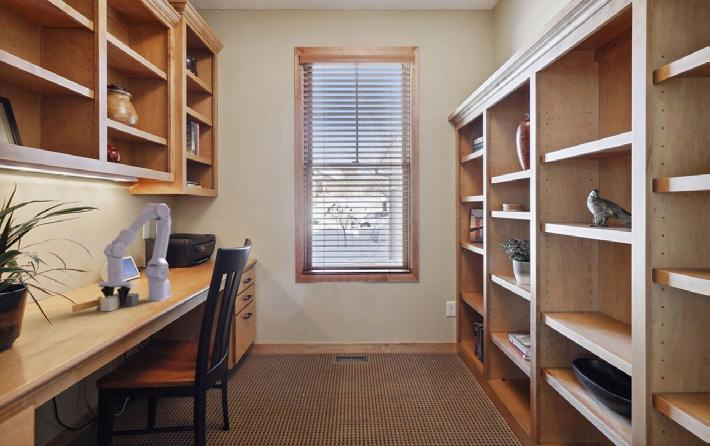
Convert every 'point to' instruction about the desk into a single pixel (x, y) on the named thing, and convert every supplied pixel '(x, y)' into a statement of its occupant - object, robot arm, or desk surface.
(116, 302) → the plug
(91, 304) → the orange long bar
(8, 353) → the desk surface
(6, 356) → the desk surface
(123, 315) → the desk surface
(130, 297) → the socket block
